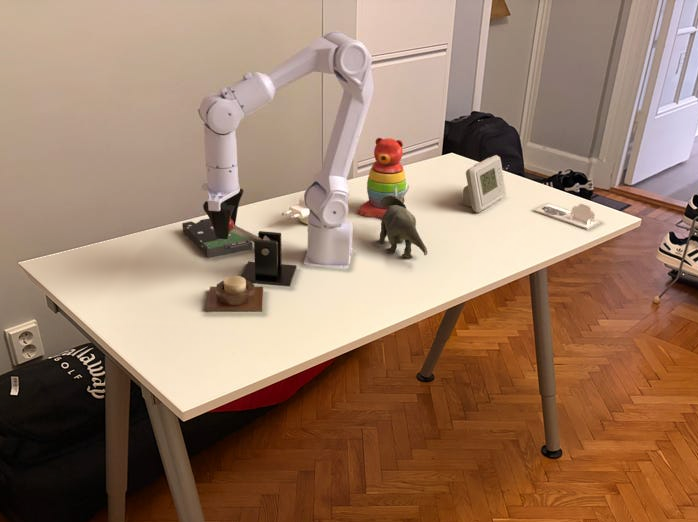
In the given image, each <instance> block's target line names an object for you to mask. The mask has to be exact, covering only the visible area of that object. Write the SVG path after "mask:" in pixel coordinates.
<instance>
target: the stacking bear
mask: <svg viewBox="0 0 698 522" xmlns="http://www.w3.org/2000/svg"><path fill="white" fill-rule="evenodd" d="M374 141H375V147H374V149H373V156H374V159H375V162H374V163H373V164H372V165H371V167H370V170H369V172H368V177H367V180H366V193H367V196H368V200H367V201H365V202H363V203H362V204H361V205H360V206H359V208H358V211H357V212H358V214H359V215H361V216H364V217H376V218H380V219H382V217H383V215H384V214H385V212H386V211H387V209H388V208H389V207H387V208H385V207H382V206H381V204H380V201H381V199H382V197H384V196H388V195H390V196H392V195H393V196H394V189H395V187H396V185H397V184H398V186H397V196H398V197H400V196H401V194H402V193H403V192H404V191H405V190H406V189H407V179H406V173H405V169H404V166H403V165H402V163H401V160H402V157H403V146H404V142H403V141H402V140H400V139H397V140H396V139H394V138H382V137H377V138H375V140H374Z"/></svg>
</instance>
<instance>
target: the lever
mask: <svg viewBox="0 0 698 522" xmlns="http://www.w3.org/2000/svg"><path fill="white" fill-rule="evenodd" d="M235 225H236V224H235ZM235 225H234V222H233V220H232V219H230V228H229V232H230V231H232V232H234V233H236V234H238V235H240V236H242V237H244V238H246V239H248V240H250V241H251V242H252V243H254V241H255V239H256V240H268V241H276V240H274V239H272V238H270V237H268V236H266V235H265V236H264V238H263V239H262V238H260V237H258V235H255V234H254V233H251V232H249V231H248V230H245V229H243V228H241V227H239V226H237V225H236V226H235Z"/></svg>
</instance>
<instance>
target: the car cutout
mask: <svg viewBox="0 0 698 522" xmlns="http://www.w3.org/2000/svg"><path fill="white" fill-rule="evenodd" d="M533 212H535V213H538V214H541V215H543V216H547V217H550V218H553V219H555V220H558V221H559V222H564V223H566V224H569V225H572V226H574V227H578V228H581V229H584V230H586V231H589V230H590V229H591V228H593V227H595V226H598V225H599V224H601V222H602V221H601V220H599V219H595V216H596V215H595V212H594V211H592V209H591V206H588V205H587V204H583V203H579V204H578V205H577V206H576V205H573V206H572V207H571V210H569V209H567V208H563V207H560V206H557V205H555V204H552V203H549V202H548V203H546V204H543V205H541V206H539V207H537V208H535V209H534V210H533Z"/></svg>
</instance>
